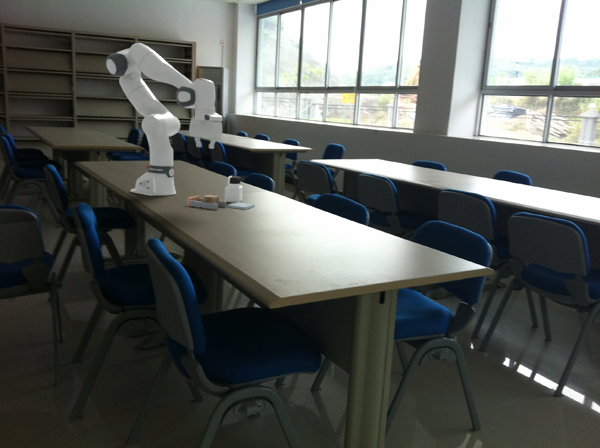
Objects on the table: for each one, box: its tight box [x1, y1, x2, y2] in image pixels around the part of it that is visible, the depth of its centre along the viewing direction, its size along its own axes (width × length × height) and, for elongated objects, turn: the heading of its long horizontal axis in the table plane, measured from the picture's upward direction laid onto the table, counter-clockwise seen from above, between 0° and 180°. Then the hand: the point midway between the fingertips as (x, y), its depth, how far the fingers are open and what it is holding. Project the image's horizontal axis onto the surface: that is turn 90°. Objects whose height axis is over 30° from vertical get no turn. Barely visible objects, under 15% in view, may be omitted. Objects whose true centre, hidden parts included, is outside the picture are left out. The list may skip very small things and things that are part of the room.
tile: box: [227, 202, 255, 210], centre depth 237 cm, size 9×9×1 cm
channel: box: [187, 195, 228, 211], centre depth 233 cm, size 15×8×4 cm, turn 68°
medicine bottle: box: [224, 175, 244, 203], centre depth 249 cm, size 7×7×12 cm
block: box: [202, 194, 220, 208], centre depth 232 cm, size 5×5×5 cm
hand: (205, 147), depth 233 cm, fingers open, 8 cm apart
